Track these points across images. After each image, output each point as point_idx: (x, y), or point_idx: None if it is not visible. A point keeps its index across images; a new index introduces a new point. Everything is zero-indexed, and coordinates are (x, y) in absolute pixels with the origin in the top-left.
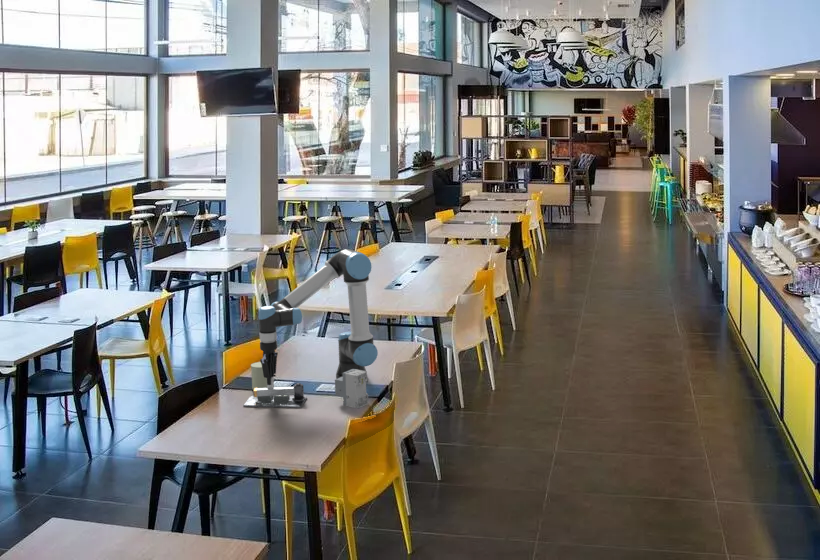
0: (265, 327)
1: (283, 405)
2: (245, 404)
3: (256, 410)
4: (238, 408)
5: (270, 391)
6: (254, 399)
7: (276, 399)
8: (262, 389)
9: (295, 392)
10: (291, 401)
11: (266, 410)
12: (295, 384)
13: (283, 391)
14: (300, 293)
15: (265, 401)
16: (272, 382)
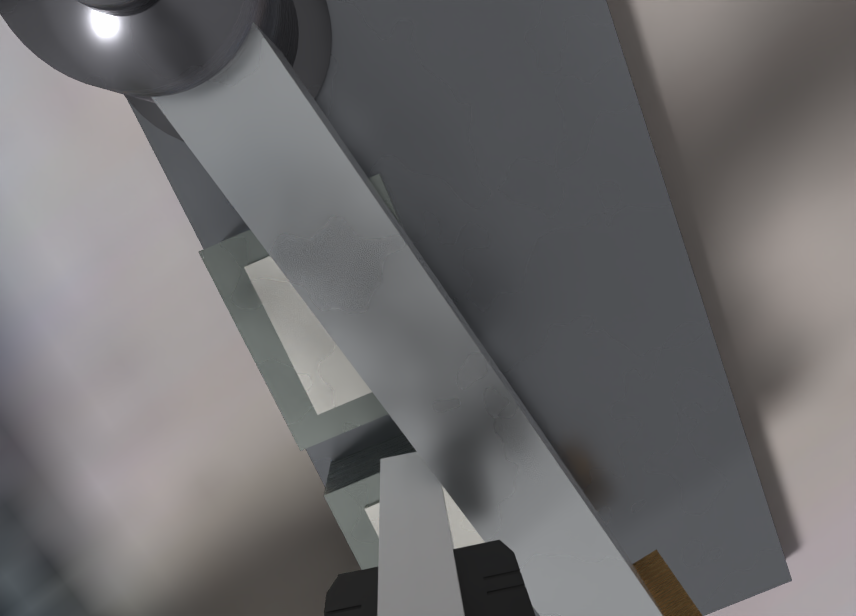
0: None
1: (606, 68)
2: (767, 569)
3: (845, 338)
4: (849, 574)
5: (540, 435)
6: None
7: None
8: (614, 576)
9: (277, 5)
10: (388, 69)
11: (802, 217)
12: (91, 84)
13: (401, 233)
14: None
15: (560, 425)
16: (441, 551)
